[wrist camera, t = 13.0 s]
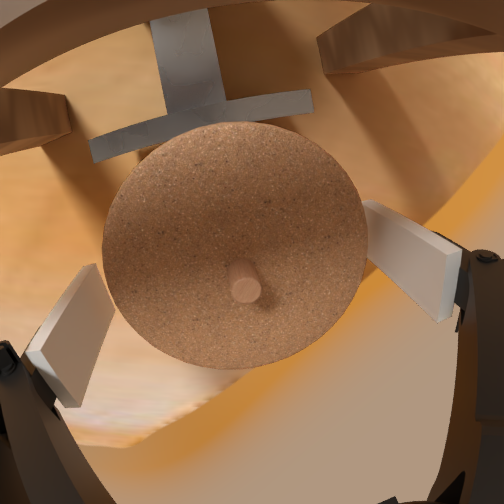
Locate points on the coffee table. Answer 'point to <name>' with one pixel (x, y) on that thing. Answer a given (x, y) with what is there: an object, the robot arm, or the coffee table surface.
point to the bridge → (171, 3)
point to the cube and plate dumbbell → (193, 90)
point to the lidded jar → (235, 245)
